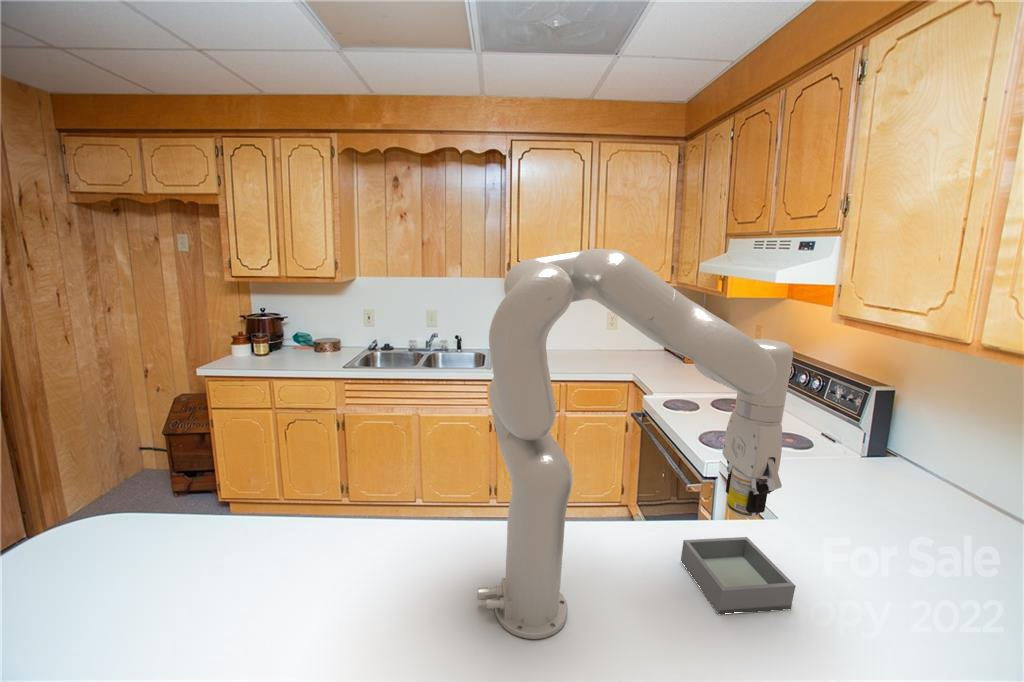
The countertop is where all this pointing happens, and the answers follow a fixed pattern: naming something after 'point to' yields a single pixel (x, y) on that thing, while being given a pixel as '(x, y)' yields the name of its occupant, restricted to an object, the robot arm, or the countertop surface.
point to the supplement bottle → (740, 493)
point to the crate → (737, 575)
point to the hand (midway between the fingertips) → (744, 501)
